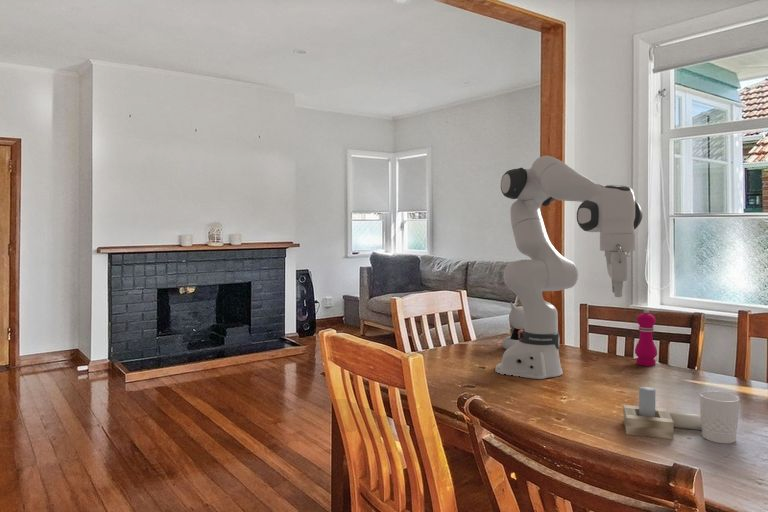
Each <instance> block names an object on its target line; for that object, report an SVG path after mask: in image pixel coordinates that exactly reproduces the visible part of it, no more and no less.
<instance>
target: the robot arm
mask: <svg viewBox="0 0 768 512" xmlns="http://www.w3.org/2000/svg"><path fill="white" fill-rule="evenodd" d="M500 191H501V193H502V195H503V196H504V197H505V198H508V199H510V200H515V201H514V202H513V203H512V204H511V206H510V223H511V227H512V228H511V230H512V232H513V237H514V240H515V245H516V248H517V250H518V251H519V252H520V253H521V254H523V255H524V256H527V257H528V258H530V259H520V260H514V261H512V262H508V264H507V265H506V266H505V268H504V270H503V281H504V284H505V286H506V287H507V289H509V290H510V291H511V292H513V293H514V294H515V295H516V296H517V298H518V299H519V301H520V304H521V306H522V307H523V312H524V330H522V329H521V330H519V331H518V340H519V341H518V342H517V343H515V344H514V345H512V346H511V347H510V348H508V349H507V350H506V349H505V351H504V352H503V355H502V358H501V362H499V363H498V364H496V365H495V369H494V370H495V373H496V372H497V373H496V374H498V373H500V374H499V375H504V374H506V376H511V375H513V376H512V377H519V376H520V378H527V379H536V380H544V379H547V378H548V379H549V378H556V377H559V376H561V375H563V373H564V371H563V369H562V366H561V361H560V353H559V351H560V350H559V349H560V341H561V339H560V332H559V329H558V328H559V326H558V325H559V319H558V318H559V313H558V310H557V308H556V306H555V305H553V304H552V303H550V302H548V301H546V300H545V299H544V296H543V292H555V291H556V292H557V291H559V292H560V291H563V290H567V289H568V290H569V289H571V288H573V287H574V286H575V285H576V284H577V283H578V279H579V269H578V267H577V266H576V264H575V263H574V262H573V261H572V260H570V259H568V258H566V257H565V256H563V255H562V254H561V253H560V252H559V251H558V250H557V249H556V248H555V246H554V245H553V244H552V242H551V240H550V238H549V235H548V232H547V229H546V226H545V222H544V219H543V216H542V212H541V207H542V206H543V207H548V206H549V205H550V204H551V203H552V202H554V201H555V200H557V201H563V202H580V205H579V206H578V207H577V211H576V222H577V224H578V226H579V228H580V229H581V230H582V231H584V232H587V233H588V232H589V233H599V251H600V252H601V251H602V252H604V257H605V258H606V259H605V263H606V268H607V275H608V276H609V277H610V279H611V286H612V287H611V291H612V293H613V294H614V297H615V298H622V297H623V287H624V282H626V281H627V280H628V258H629V257H630V255H631V252H634V251H635V250H636V229H637V228H638V227H639V226H640V224H641V222H642V219H643V210H642V208H641V205H640V204H639V203H638V201H636V199H635V194H634V191H633V188H631V187H630V186H627V185H617V184H609V185H608V184H607V185H605V186H604V185H602V184H600V183H598V182H597V181H595V180H592V178H591V179H590V178H588V177H587V176H585V175H584V174H581V173H579V172H578V171H576V170H575V169H573V168H572V167H570V166H569V165H567V163H565V162H563V161H562V160H560V159H558V158H556V157H553V156H550V155H542V156H540V157H538V158H536V159H535V160H534V161H533V163H532V164H531V167H530V168H523V167H518V168H513V169H509V170H507V171H506V172H505V173H503V175H502V176H501V180H500Z"/></svg>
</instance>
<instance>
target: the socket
mask: <svg viewBox="0 0 768 512" xmlns="http://www.w3.org/2000/svg"><path fill="white" fill-rule="evenodd" d="M622 409H623V410H622V412H623V415H622V417H623V420H622V421H623V424H624V431H625V433H626V435H631V436H639V437H647V438H648V437H650V438H659V439H666V440H667V439H668V440H674V433H675V432H674V428H675V427H674V422H673V420H672V418H671V416H670V414H669V412H670V411H669V410H668V408H666V407H665V408H664V407H655V417H646V416H639V405H629V404H628V405H627V404H623V408H622Z"/></svg>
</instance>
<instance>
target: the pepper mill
mask: <svg viewBox="0 0 768 512" xmlns="http://www.w3.org/2000/svg"><path fill="white" fill-rule="evenodd" d="M636 322H637V324H638V329H637V330H638V331H639V339H638V342H637V343H636V345H635V347H634V353H635V356H636V358H635V359H636V360H635V361H636V365H638V366H642V365H643V366H644V367H654V366H656V364H657V363H656V361H657V360H656V359H655V358H656V357H657V356H658V350H657V346H656V344H655V342H654V340H653V333H654V332H655V330H654V329H655V327H654V325H655V324H656V317H655V316H654V315H653V314H651V313H650V310H649V309H648V308H644V309H643V313H642V312H641V313H640V314H639V315H637V318H636ZM643 366H642V367H643Z"/></svg>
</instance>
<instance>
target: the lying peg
mask: <svg viewBox="0 0 768 512" xmlns="http://www.w3.org/2000/svg"><path fill="white" fill-rule="evenodd" d="M668 412H669V414H670V416H671V418H672V420H673V422H674V428H677V429H688V430H697V431H699V430H700V431H702V425H701V416H700V414H695V413H686V412H685V413H684V412H682V413H681V412H673V411H668Z"/></svg>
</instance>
